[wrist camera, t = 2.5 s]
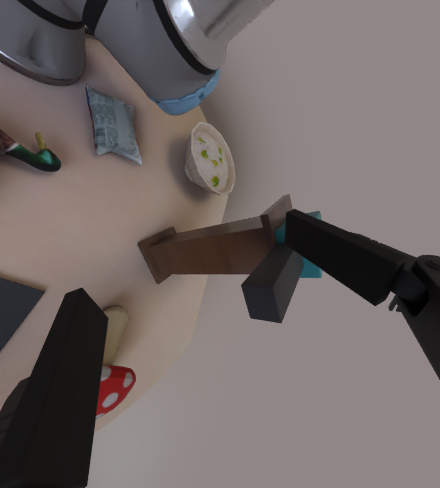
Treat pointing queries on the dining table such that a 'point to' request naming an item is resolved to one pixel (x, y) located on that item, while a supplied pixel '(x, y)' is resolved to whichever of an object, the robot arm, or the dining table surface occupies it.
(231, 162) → the bowl
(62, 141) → the dining table surface
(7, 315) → the mat
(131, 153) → the packaged food
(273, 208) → the stand
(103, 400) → the decorative mushroom
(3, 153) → the decorative duck model
